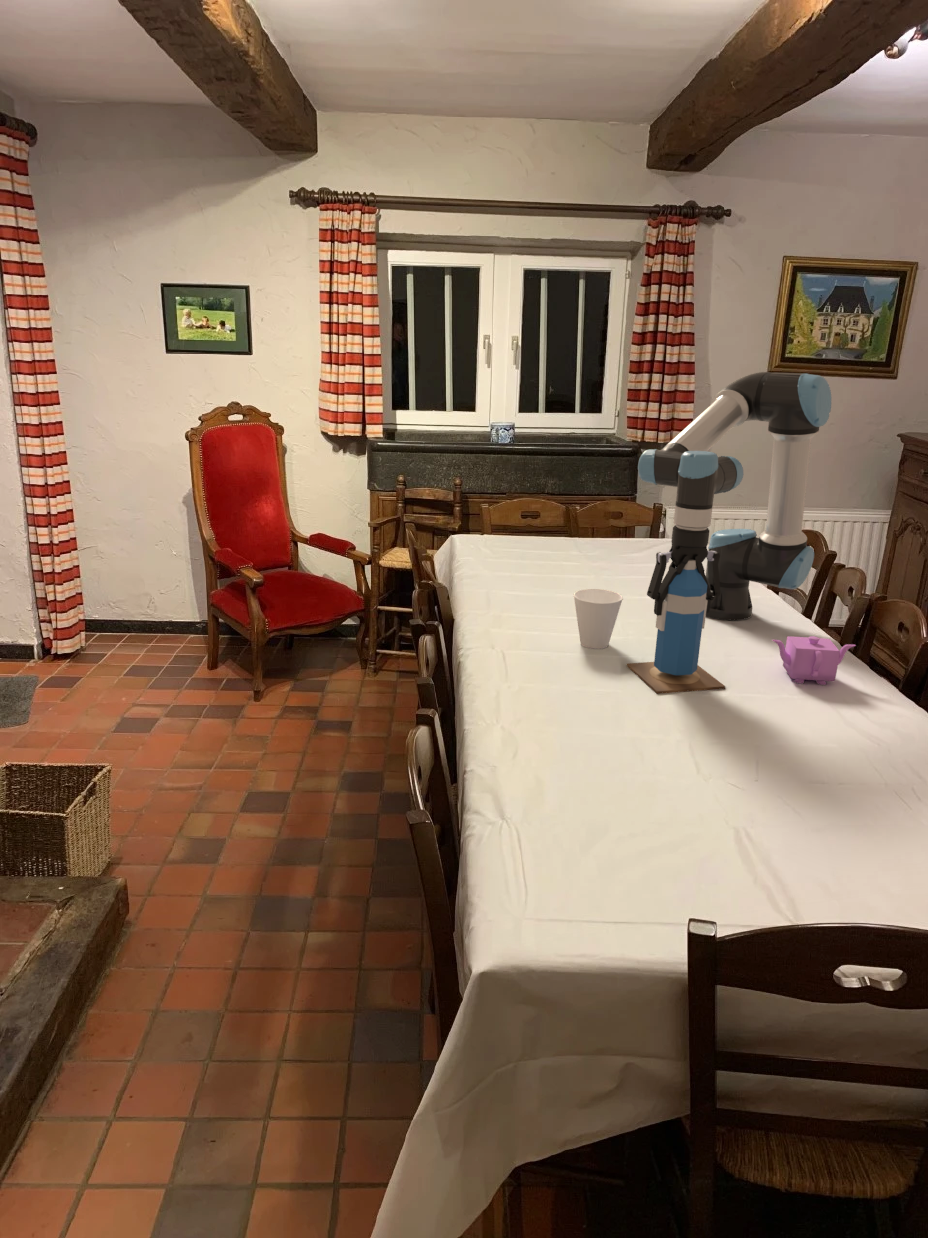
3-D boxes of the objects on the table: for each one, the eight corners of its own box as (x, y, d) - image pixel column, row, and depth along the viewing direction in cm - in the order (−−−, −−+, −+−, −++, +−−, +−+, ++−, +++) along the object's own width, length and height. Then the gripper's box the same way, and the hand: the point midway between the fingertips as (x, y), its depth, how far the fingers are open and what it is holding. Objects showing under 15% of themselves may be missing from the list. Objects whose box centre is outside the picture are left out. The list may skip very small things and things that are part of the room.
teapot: (839, 668, 194) (846, 629, 191) (857, 691, 182) (865, 649, 178) (759, 663, 196) (765, 624, 193) (772, 685, 183) (778, 644, 180)
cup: (628, 644, 206) (632, 596, 202) (600, 656, 198) (604, 606, 194) (588, 632, 214) (591, 585, 210) (560, 643, 205) (563, 595, 201)
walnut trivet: (690, 661, 196) (690, 658, 196) (725, 688, 181) (725, 685, 181) (626, 665, 192) (626, 663, 192) (656, 694, 178) (657, 690, 177)
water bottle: (698, 677, 181) (712, 565, 173) (654, 673, 182) (665, 562, 174) (695, 662, 189) (708, 554, 181) (653, 658, 191) (664, 551, 183)
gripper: (728, 521, 181) (715, 619, 189) (636, 523, 177) (627, 624, 184) (747, 529, 175) (733, 630, 182) (651, 531, 170) (641, 636, 177)
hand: (679, 627), depth 183 cm, fingers closed on water bottle, 9 cm apart
